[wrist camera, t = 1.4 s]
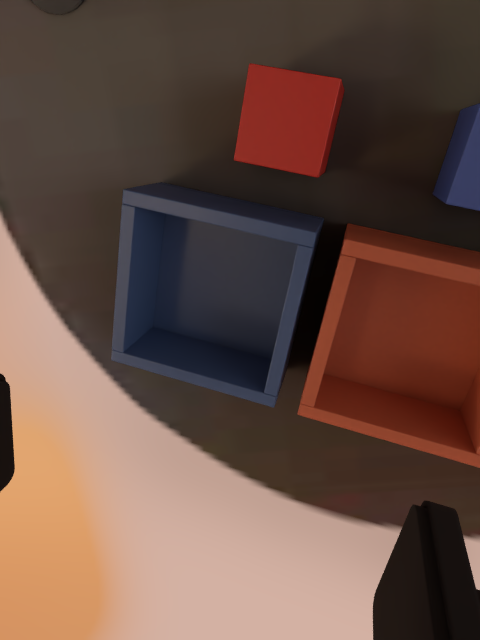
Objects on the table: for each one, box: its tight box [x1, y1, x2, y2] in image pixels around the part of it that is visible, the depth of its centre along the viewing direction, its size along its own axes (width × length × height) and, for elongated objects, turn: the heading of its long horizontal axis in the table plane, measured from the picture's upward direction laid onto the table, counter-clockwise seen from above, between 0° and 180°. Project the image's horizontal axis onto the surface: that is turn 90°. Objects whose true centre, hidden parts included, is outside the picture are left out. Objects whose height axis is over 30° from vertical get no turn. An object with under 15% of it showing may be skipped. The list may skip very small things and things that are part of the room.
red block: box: [234, 63, 344, 178], centre depth 24 cm, size 4×4×4 cm
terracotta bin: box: [298, 223, 480, 468], centre depth 26 cm, size 11×11×5 cm
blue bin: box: [111, 182, 324, 407], centre depth 28 cm, size 11×11×5 cm
